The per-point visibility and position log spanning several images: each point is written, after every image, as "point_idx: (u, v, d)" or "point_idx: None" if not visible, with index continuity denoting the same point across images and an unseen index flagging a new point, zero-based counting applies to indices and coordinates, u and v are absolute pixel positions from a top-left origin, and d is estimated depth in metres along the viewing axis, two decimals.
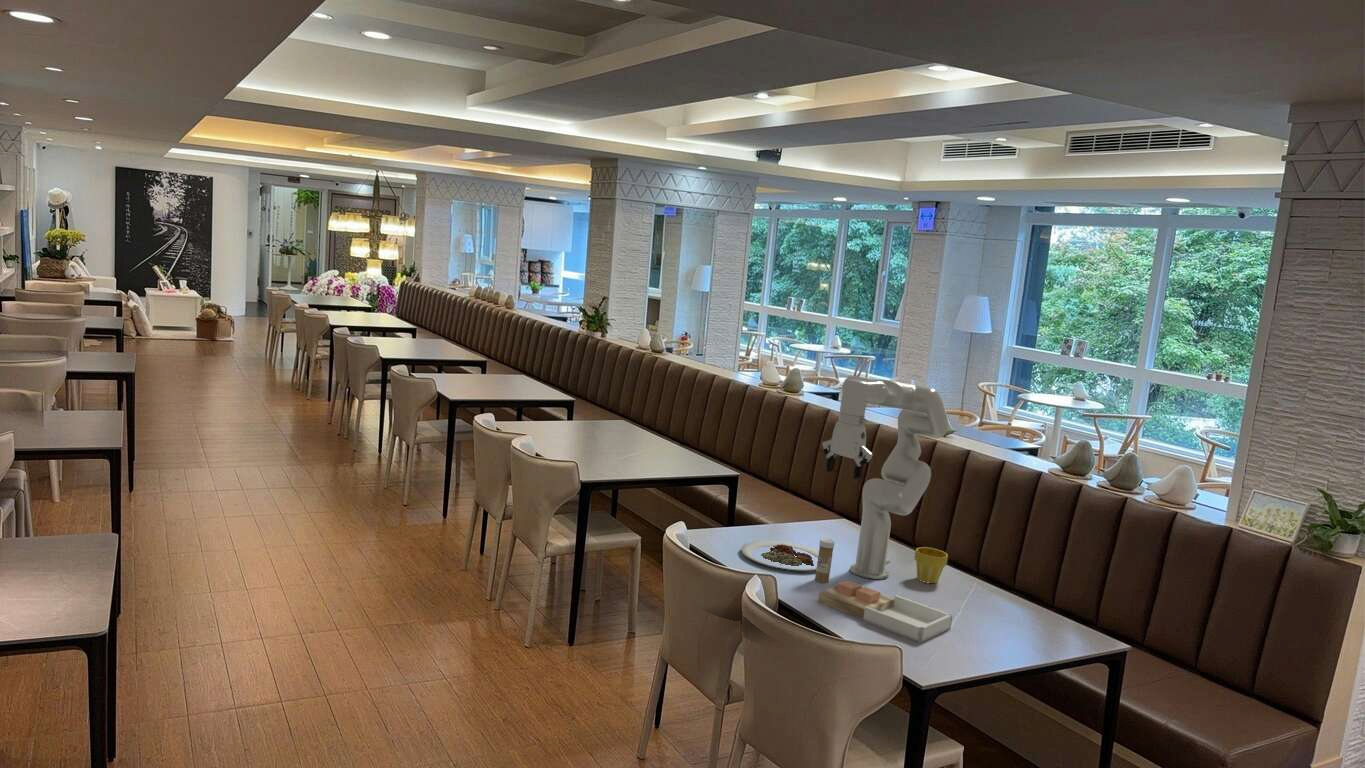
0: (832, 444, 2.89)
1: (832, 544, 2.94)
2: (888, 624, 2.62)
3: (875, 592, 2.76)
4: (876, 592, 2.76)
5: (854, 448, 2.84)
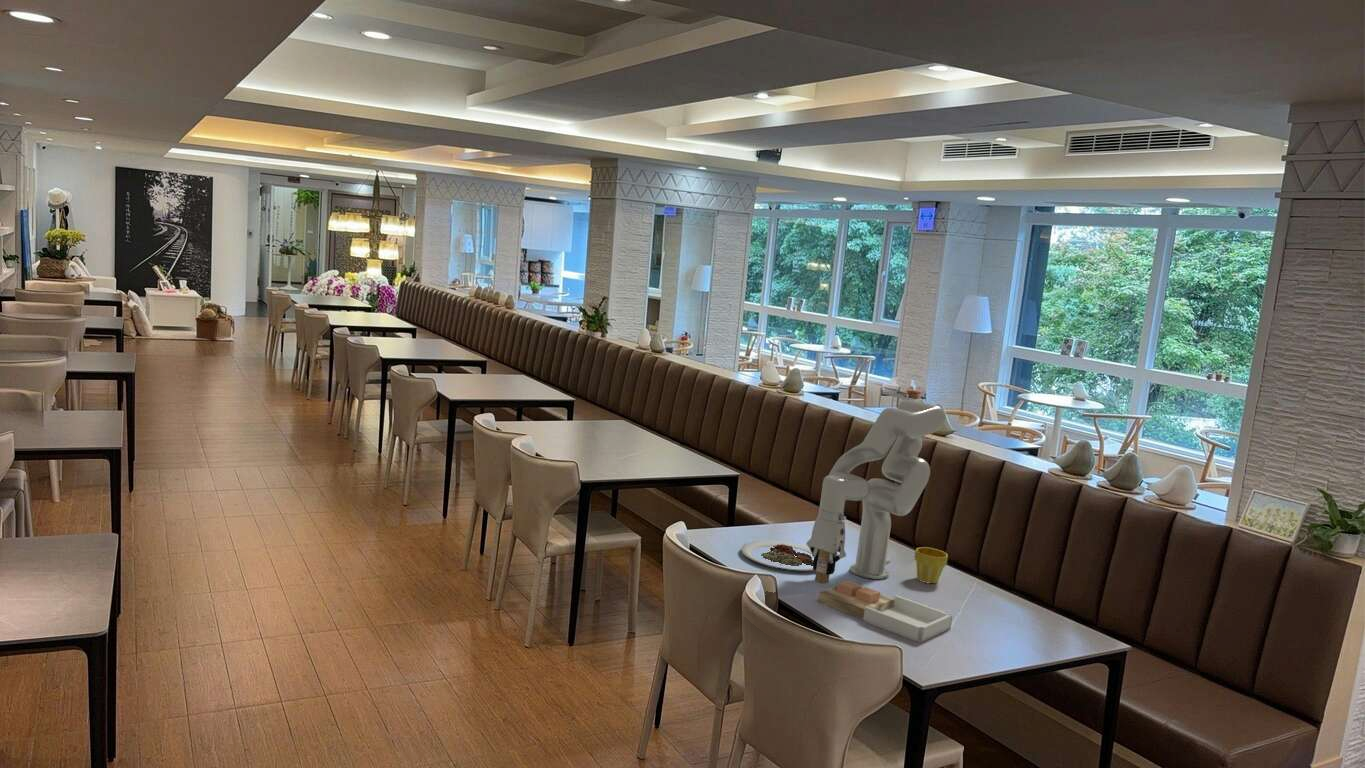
0: (812, 538, 2.97)
1: None
2: (888, 624, 2.62)
3: (875, 592, 2.76)
4: (876, 592, 2.76)
5: (833, 544, 2.92)
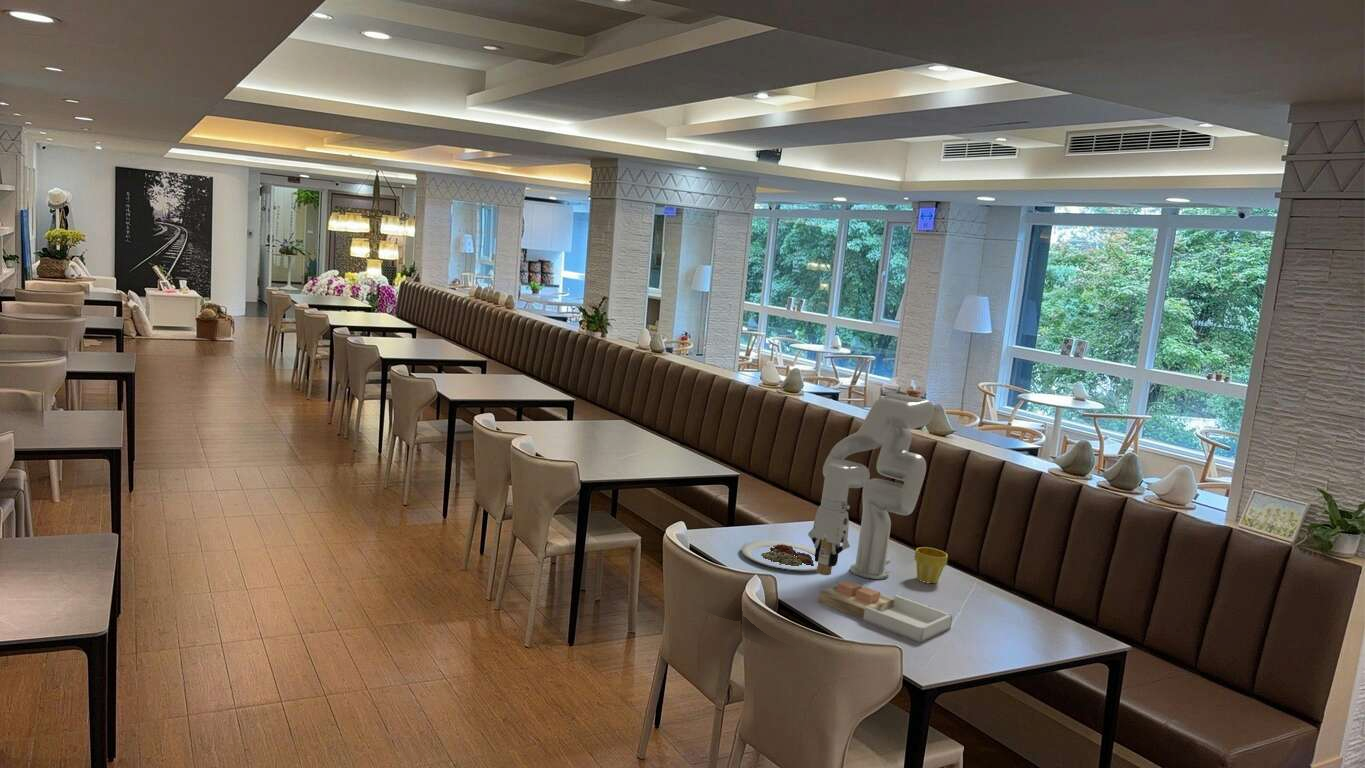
0: (814, 529, 2.85)
1: None
2: (888, 624, 2.62)
3: (875, 592, 2.76)
4: (876, 592, 2.76)
5: (836, 534, 2.80)
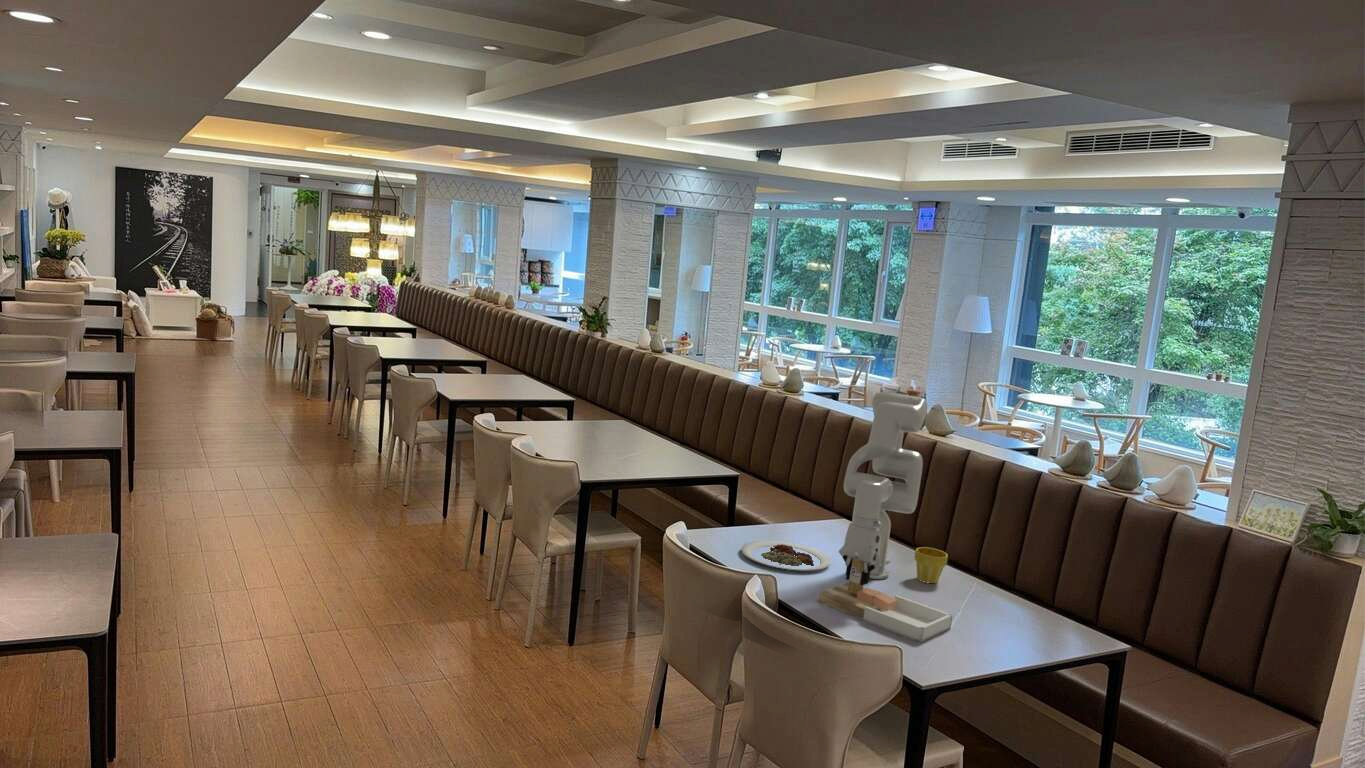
0: (845, 546, 2.79)
1: None
2: (888, 624, 2.62)
3: (892, 600, 2.72)
4: (893, 600, 2.72)
5: (868, 552, 2.73)
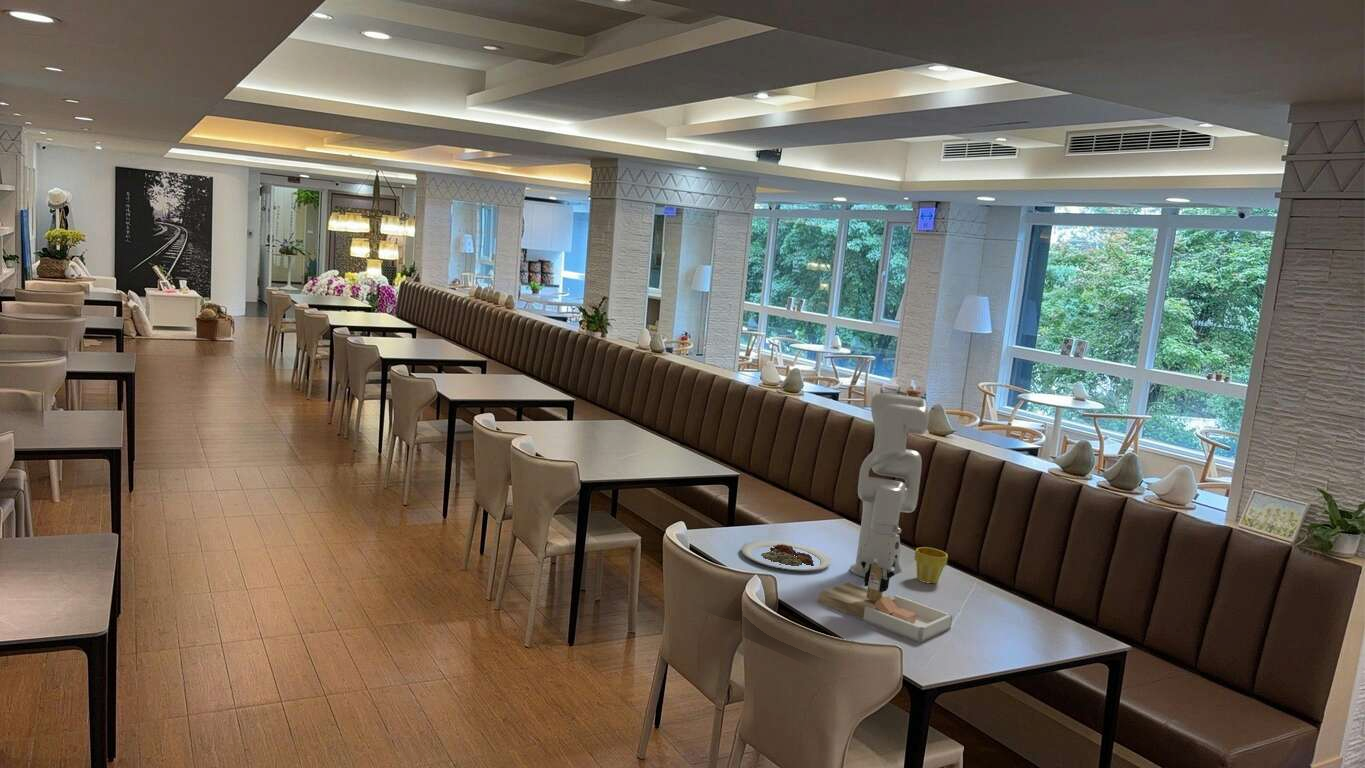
0: (864, 552, 2.74)
1: None
2: (888, 624, 2.62)
3: None
4: None
5: (888, 559, 2.69)
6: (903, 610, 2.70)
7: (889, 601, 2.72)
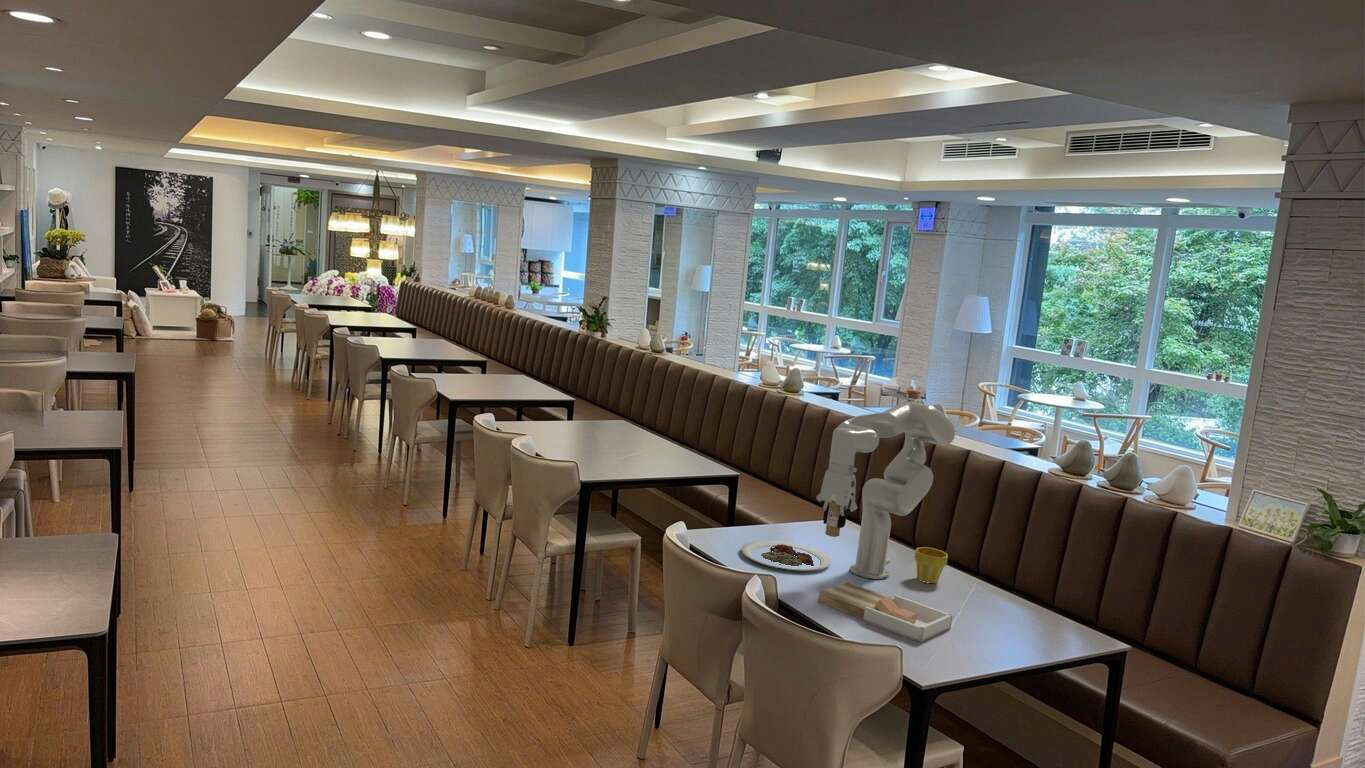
0: (822, 492, 2.93)
1: None
2: (888, 624, 2.62)
3: None
4: None
5: (844, 496, 2.88)
6: (904, 610, 2.70)
7: (890, 601, 2.72)
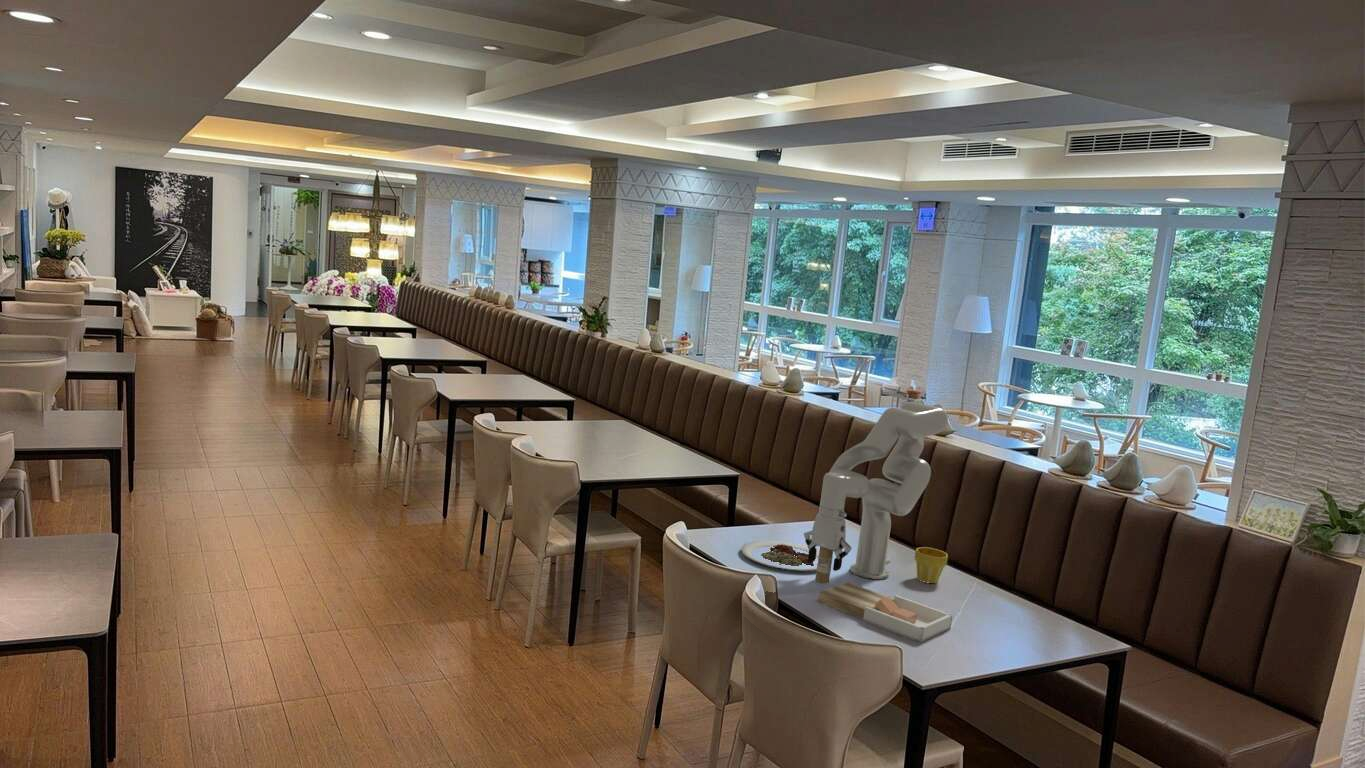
0: (813, 535, 2.97)
1: None
2: (888, 624, 2.62)
3: None
4: None
5: (834, 541, 2.92)
6: (904, 610, 2.70)
7: (890, 601, 2.72)
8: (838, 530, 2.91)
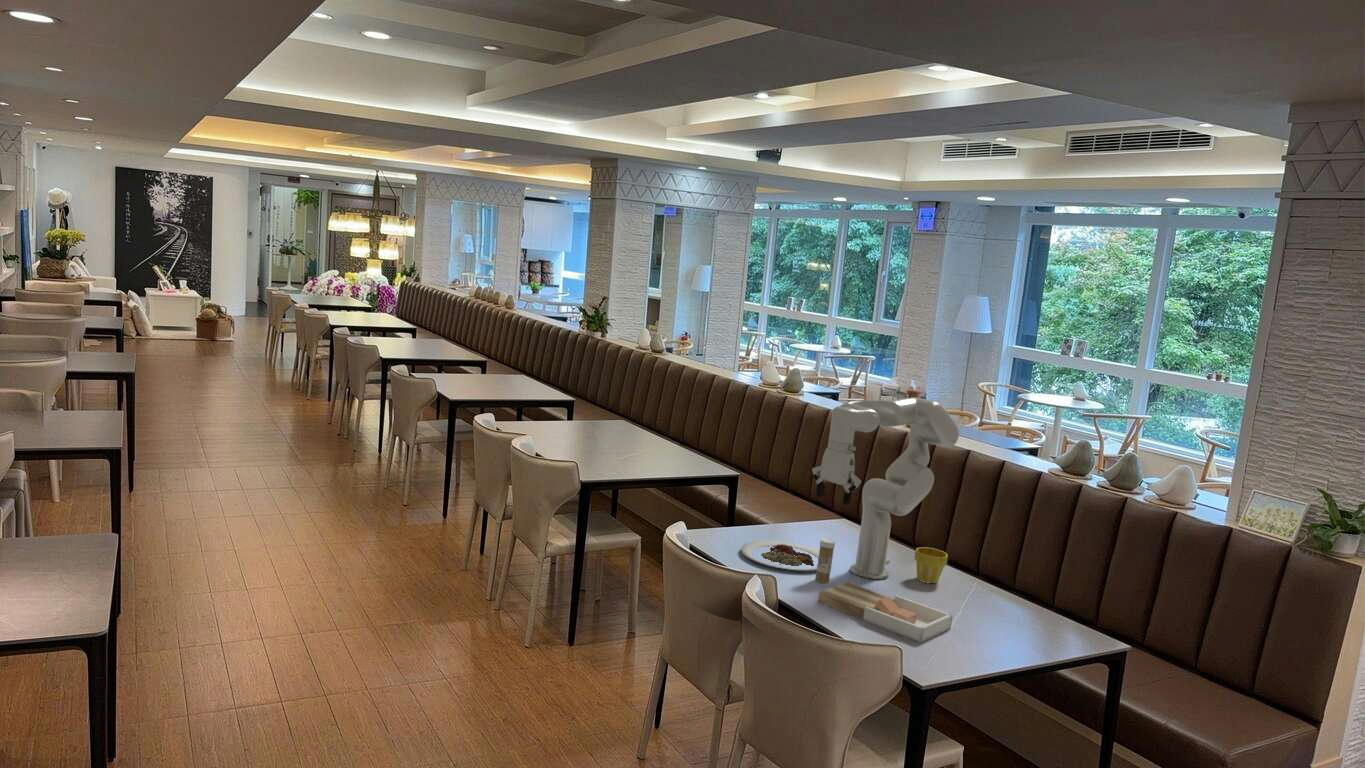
0: (821, 470, 2.94)
1: (832, 544, 2.94)
2: (888, 624, 2.62)
3: None
4: None
5: (843, 475, 2.89)
6: (904, 610, 2.70)
7: (890, 601, 2.72)
8: (847, 464, 2.88)
